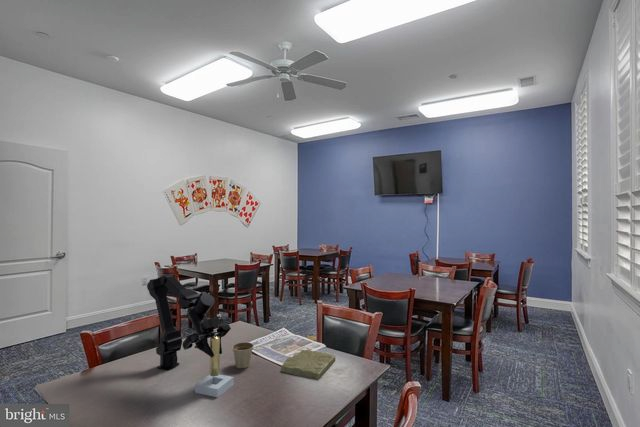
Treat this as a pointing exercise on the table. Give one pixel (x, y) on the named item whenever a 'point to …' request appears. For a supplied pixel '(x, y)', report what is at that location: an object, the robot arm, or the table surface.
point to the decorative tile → (308, 364)
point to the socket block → (214, 385)
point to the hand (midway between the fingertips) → (217, 355)
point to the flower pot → (242, 354)
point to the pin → (214, 360)
